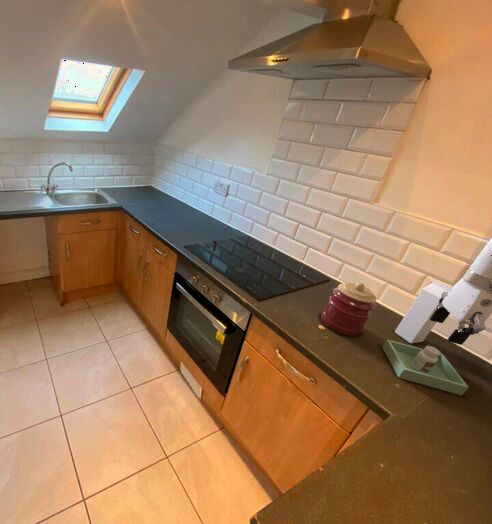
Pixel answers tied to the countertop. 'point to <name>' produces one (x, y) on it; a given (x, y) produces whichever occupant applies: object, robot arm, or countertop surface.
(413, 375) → the tray
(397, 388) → the countertop surface
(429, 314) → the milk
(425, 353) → the pill bottle
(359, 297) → the kitchen canister
